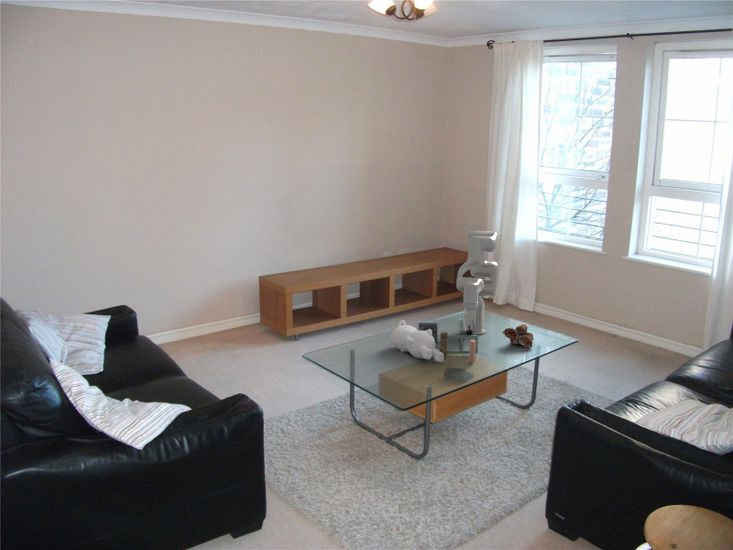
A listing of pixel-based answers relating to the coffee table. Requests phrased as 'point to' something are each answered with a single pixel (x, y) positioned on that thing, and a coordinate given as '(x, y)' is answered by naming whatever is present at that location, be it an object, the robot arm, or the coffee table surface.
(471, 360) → the post
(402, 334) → the teddy bear
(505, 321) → the coffee table surface
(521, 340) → the seed pod
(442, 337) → the gate post
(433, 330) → the small box
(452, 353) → the gate
